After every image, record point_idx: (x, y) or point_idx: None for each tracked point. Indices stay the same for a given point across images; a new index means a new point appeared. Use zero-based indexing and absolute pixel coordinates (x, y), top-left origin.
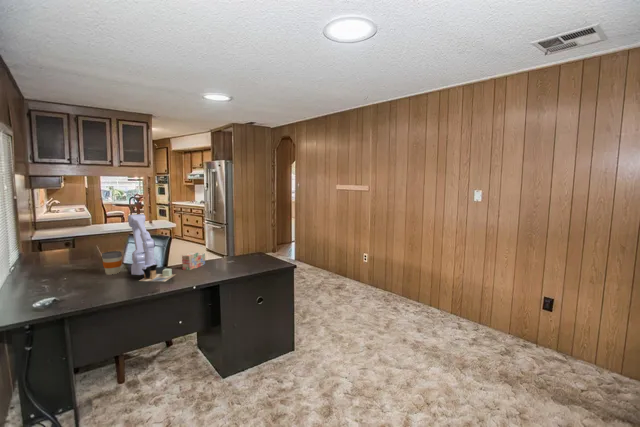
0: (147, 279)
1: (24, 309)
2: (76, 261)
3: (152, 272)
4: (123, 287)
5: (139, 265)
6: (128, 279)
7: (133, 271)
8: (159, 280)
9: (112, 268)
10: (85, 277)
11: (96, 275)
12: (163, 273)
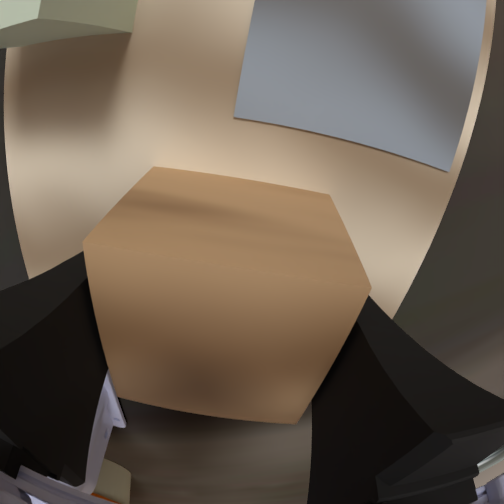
0: None
1: (494, 460)
2: None
3: (328, 277)
4: (469, 378)
5: (68, 486)
6: (225, 425)
7: (101, 446)
8: (464, 28)
9: (117, 499)
10: (188, 501)
11: (154, 489)
12: (102, 2)
